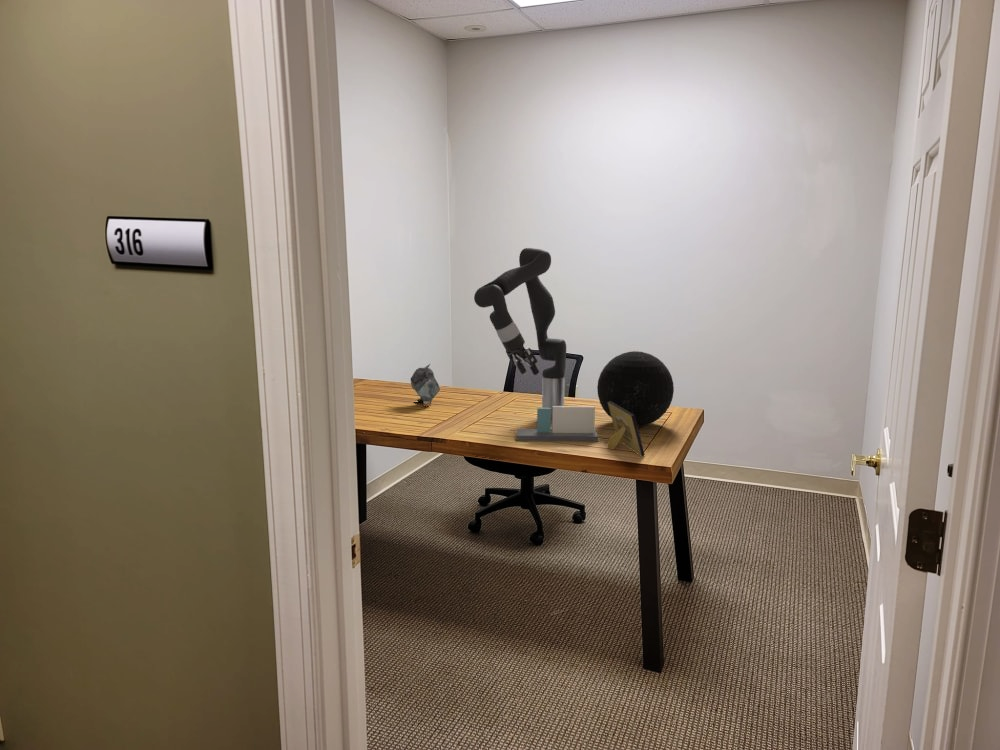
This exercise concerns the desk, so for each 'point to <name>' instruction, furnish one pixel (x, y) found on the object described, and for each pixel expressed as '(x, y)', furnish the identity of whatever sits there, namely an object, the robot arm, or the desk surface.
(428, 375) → the grey bird figurine
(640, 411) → the fuzzy black sphere
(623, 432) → the picture frame
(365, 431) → the desk surface
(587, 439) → the sliding block rail
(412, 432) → the desk surface
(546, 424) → the stub
